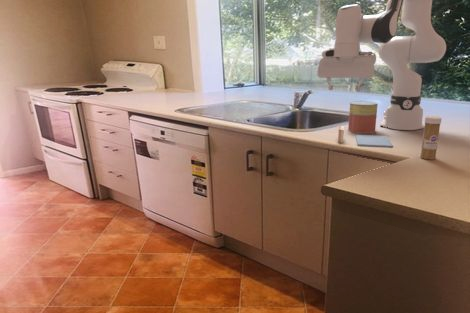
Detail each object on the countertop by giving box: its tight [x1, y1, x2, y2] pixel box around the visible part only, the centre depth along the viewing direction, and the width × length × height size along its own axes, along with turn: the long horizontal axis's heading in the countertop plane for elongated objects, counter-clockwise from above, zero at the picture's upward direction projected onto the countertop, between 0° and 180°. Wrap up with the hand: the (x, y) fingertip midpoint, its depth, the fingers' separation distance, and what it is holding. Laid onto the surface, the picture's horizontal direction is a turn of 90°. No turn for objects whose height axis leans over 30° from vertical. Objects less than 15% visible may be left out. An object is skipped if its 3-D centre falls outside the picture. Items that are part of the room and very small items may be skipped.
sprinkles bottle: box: [419, 115, 442, 160], centre depth 117 cm, size 5×5×13 cm
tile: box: [337, 125, 345, 143], centre depth 144 cm, size 8×2×5 cm, turn 165°
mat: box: [355, 134, 394, 148], centre depth 141 cm, size 16×12×1 cm
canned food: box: [347, 100, 379, 134], centre depth 159 cm, size 11×11×12 cm
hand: (344, 90), depth 139 cm, fingers open, 8 cm apart
